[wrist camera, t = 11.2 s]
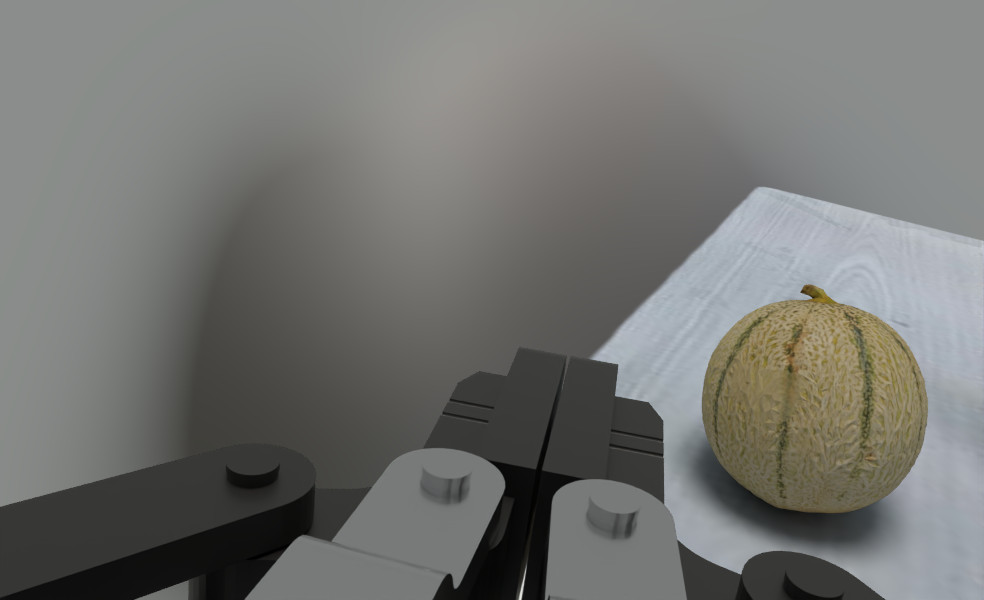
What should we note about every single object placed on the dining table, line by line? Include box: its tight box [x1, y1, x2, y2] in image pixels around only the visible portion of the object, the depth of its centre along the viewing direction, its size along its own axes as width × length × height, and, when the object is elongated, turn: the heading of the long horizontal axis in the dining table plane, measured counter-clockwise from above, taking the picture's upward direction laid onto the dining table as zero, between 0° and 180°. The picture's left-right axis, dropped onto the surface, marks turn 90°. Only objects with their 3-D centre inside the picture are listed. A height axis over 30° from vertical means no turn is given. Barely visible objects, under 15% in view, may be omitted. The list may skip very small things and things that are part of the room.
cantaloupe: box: [702, 285, 928, 513], centre depth 60 cm, size 15×15×15 cm
